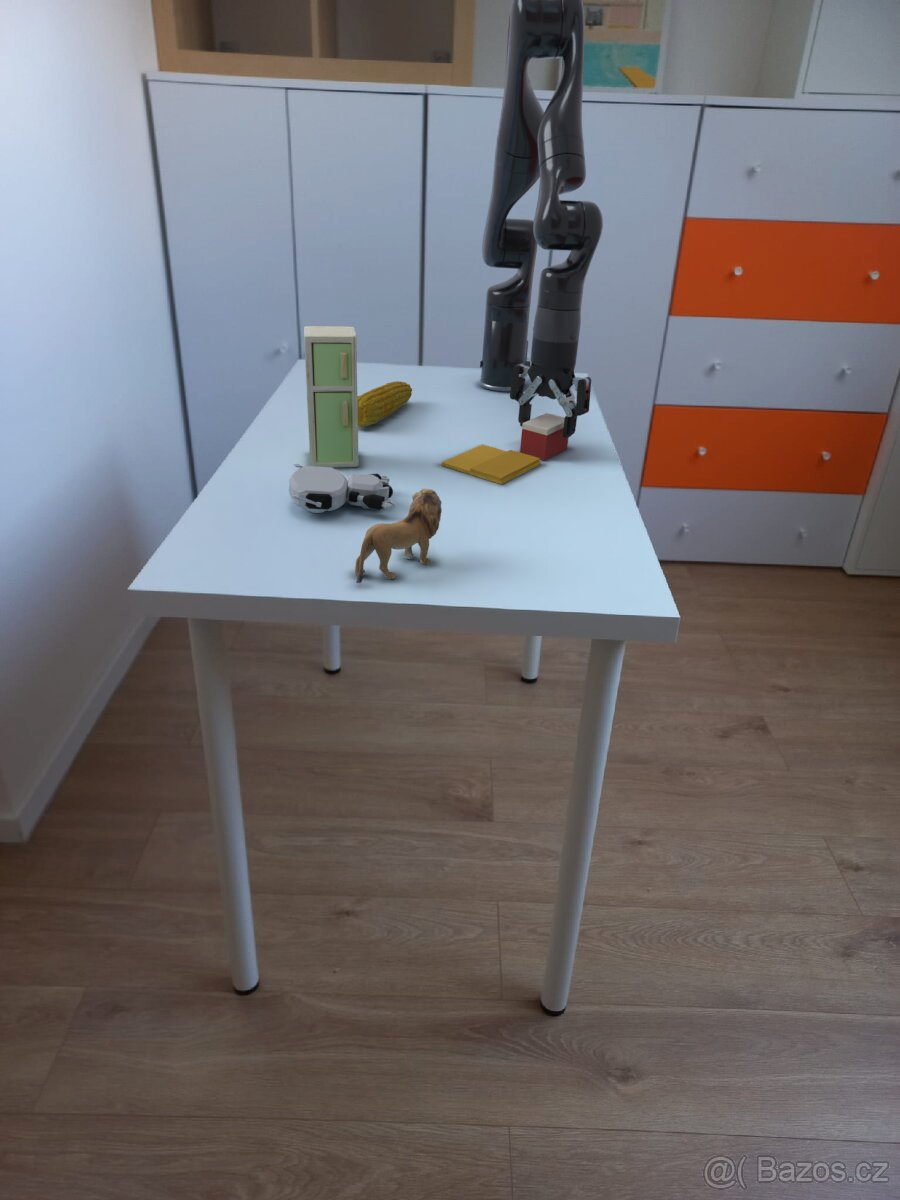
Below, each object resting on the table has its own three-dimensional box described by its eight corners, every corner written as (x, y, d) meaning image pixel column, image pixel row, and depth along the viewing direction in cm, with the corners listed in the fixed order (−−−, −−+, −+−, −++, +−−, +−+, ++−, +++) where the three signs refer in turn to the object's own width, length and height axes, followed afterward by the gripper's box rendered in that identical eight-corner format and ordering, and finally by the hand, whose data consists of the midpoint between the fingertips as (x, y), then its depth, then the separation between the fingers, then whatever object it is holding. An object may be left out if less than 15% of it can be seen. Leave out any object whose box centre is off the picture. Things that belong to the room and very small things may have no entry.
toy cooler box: (543, 442, 150) (546, 412, 147) (567, 449, 147) (571, 419, 145) (519, 453, 144) (522, 423, 141) (544, 460, 142) (547, 429, 139)
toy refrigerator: (309, 470, 133) (303, 336, 122) (308, 454, 139) (303, 325, 128) (359, 469, 134) (358, 337, 123) (356, 453, 140) (355, 326, 130)
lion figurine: (418, 542, 112) (420, 480, 108) (449, 554, 110) (453, 491, 105) (342, 580, 102) (340, 513, 98) (374, 595, 99) (374, 527, 95)
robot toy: (388, 493, 128) (289, 487, 126) (390, 465, 126) (290, 459, 123) (394, 527, 118) (287, 521, 115) (397, 498, 116) (288, 491, 113)
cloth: (482, 447, 146) (482, 441, 145) (540, 464, 140) (541, 458, 139) (441, 465, 137) (441, 459, 137) (501, 484, 131) (502, 478, 131)
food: (372, 433, 149) (372, 401, 146) (344, 428, 151) (344, 396, 148) (417, 403, 167) (418, 373, 164) (391, 399, 168) (392, 369, 165)
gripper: (605, 339, 135) (592, 435, 143) (530, 325, 142) (522, 417, 150) (583, 346, 129) (570, 446, 137) (507, 331, 137) (499, 427, 145)
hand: (545, 431), depth 144 cm, fingers open, 8 cm apart
